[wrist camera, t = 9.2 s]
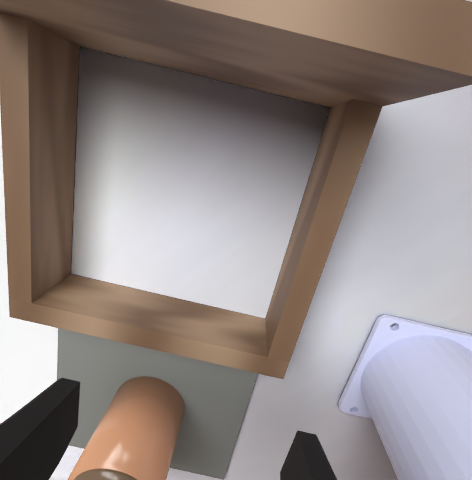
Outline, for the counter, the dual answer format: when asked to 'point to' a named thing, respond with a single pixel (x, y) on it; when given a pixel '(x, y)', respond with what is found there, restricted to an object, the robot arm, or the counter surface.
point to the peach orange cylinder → (134, 434)
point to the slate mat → (173, 372)
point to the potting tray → (223, 69)
